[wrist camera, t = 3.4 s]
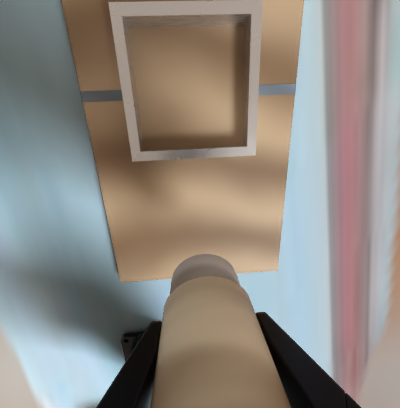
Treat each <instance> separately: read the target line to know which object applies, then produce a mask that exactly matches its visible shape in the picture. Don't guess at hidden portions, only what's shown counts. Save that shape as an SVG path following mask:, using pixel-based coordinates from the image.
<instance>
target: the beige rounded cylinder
mask: <svg viewBox="0 0 400 408" xmlns="http://www.w3.org/2000/svg"><path fill="white" fill-rule="evenodd" d="M150 408H291V406H290V403H289V400H288V398H287V395H286V393H285V390H284V387H283V385H282V382H281V380H280V377H279V374H278V372H277V369H276V366H275V364H274V361H273V359H272V356H271V353H270V351H269V348H268V346H267V343H266V340H265V338H264V335H263V333H262V330H261V327H260V325H259V322H258V319H257V317H256V314H255V312H254V309H253V306H252V304H251V301H250V299H249V296H248V294H247V293H246V291H245V290H244V289H243V288H242V287H241V286H240V284H239V281H238V278H237V275H236V272H235V270H234V268H233V266H232V265H231V264H230V263H229V262H228V261H227V260H225V259H224V258H222V257H220V256H217V255H213V254H199V255H195V256H192V257H189V258H188V259H186V260H184V261H183V262H182V263H180V264H179V265H178V267H177V268H176V269H175V271H174V273H173V276H172V281H171V290H170V296H169V297H168V299H167V301H166V303H165V306H164V312H163V319H162V326H161V333H160V341H159V348H158V355H157V362H156V370H155V377H154V384H153V391H152V398H151V406H150Z"/></svg>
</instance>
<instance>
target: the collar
mask: <svg viewBox="0 0 400 408" xmlns="http://www.w3.org/2000/svg"><path fill="white" fill-rule="evenodd" d="M108 3H109V10H110V17H111V23H112V30H113V37H114V43H115V50H116V56H117V63H118V70H119V76H120V83H121V90H122V96H123V103H124V109H125V116H126V123H127V129H128V136H129V143H130V149H131V156H132V162H134V161H154V160H174V159H194V158H214V157H233V156H253V155H256V137H257V116H258V94H259V72H260V50H261V28H262V6H263V0H210V1H146V2H108ZM204 26H245V59H244V100H243V141H242V146H229V147H208V148H187V149H167V150H146V151H144V145H143V138H142V130H141V122H140V114H139V107H138V99H137V91H136V84H135V76H134V68H133V60H132V53H131V45H130V37H129V30H128V28H158V27H204Z"/></svg>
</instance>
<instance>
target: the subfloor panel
mask: <svg viewBox="0 0 400 408" xmlns="http://www.w3.org/2000/svg"><path fill="white" fill-rule="evenodd" d="M61 1H62V6H63V10H64V15H65V20H66V25H67V29H68V34H69V39H70V44H71V48H72V53H73V58H74V63H75V68H76V72H77V77H78V82H79V87H80V93H81V97H82V102H83V106H84V110H85V115H86V120H87V125H88V129H89V134H90V139H91V144H92V148H93V153H94V158H95V163H96V167H97V172H98V177H99V182H100V186H101V191H102V196H103V201H104V206H105V210H106V215H107V220H108V225H109V229H110V234H111V239H112V244H113V248H114V253H115V258H116V263H117V267H118V272H119V277H120V282H132V281H145V280H159V279H172V276H173V273H174V271H175V269H176V268H177V267H178V265H179V264H180V263H182V262H183V261H184V260H186V259H188V258H189V257H192V256H195V255H199V254H213V255H217V256H220V257H222V258H224V259H225V260H227V261H228V262H229V263H230V264H231V265H232V266H233V268H234V270H235V272H236V274H237V273H250V272H263V271H276V270H278V260H279V250H280V240H281V229H282V219H283V209H284V199H285V189H286V179H287V168H288V158H289V148H290V138H291V128H292V117H293V107H294V97H295V90H296V77H297V67H298V56H299V46H300V36H301V26H302V16H303V5H304V0H263V6H262V28H261V50H260V72H259V94H258V116H257V137H256V155H253V156H233V157H214V158H194V159H174V160H154V161H134V162H132V156H131V149H130V143H129V136H128V129H127V123H126V116H125V109H124V103H123V96H122V90H121V83H120V76H119V70H118V63H117V56H116V50H115V43H114V37H113V30H112V23H111V17H110V10H109V3H108V2H146V1H210V0H61ZM128 30H129V37H130V45H131V53H132V60H133V68H134V76H135V84H136V91H137V99H138V107H139V114H140V122H141V130H142V138H143V145H144V151H146V150H167V149H187V148H208V147H229V146H242V141H243V100H244V59H245V26H204V27H158V28H128Z"/></svg>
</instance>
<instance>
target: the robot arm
mask: <svg viewBox="0 0 400 408" xmlns="http://www.w3.org/2000/svg"><path fill="white" fill-rule="evenodd" d="M256 317H257V319H258V322H259V325H260V327H261V330H262V333H263V335H264V338H265V340H266V343H267V346H268V348H269V351H270V353H271V356H272V359H273V361H274V364H275V366H276V369H277V372H278V374H279V377H280V380H281V382H282V385H283V387H284V390H285V393H286V395H287V398H288V400H289V403H290V406H291V408H361V407H360V406H359V405H358V404H357V403H356V402H355V401H354V400H353V399H352V398H351V397H350V396H349V395H348V394H347V393H345V391H344V390H343V389H342V388H341V387H340V386H339V385H338V384H337V383H336V382H335V381H334V380H333V379H332V378H331V377H330V376H329V375H328V374H327V373H326V372H325V371H324V370H323V369H322V368H321V367H320V366H319V365H318V364H317V363H316V362H315V361H314V360H313V359H312V358H311V357H310V356H309V355H308V354H307V353H306V352H305V351H304V350H303V349H302V348H301V347H300V346H299V345H298V344H297V343H296V342H295V341H294V340H293V339H292V338H291V337H290V336H289V335H288V334H287V333H286V332H285V331H284V330H283V329H282V328H281V327H280V326H279V325H278V324H277V323H276V322H275V321H274V320H273V319H272V318H271V317H270V316H269V315H268V314H267V313H265V312H257V313H256ZM161 326H162V322H161V321H152V322H151V323H150V325H149V326H148V328H147V330H146V331H145V332H138V333H127V334H124V335H123V336H122V339H121V343H122V347H123V352H124V356H125V360H126V362H125V364H124V365H123V367H122V368H121V370H120V372H119V373H118V375H117V376H116V378H115V379H114V381H113V382H112V384H111V386H110V387H109V389H108V390H107V392H106V393H105V395H104V396H103V398H102V400H101V401H100V403H99V404H98V406H97V407H96V408H150V406H151V398H152V391H153V384H154V377H155V370H156V362H157V355H158V348H159V341H160V333H161Z"/></svg>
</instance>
